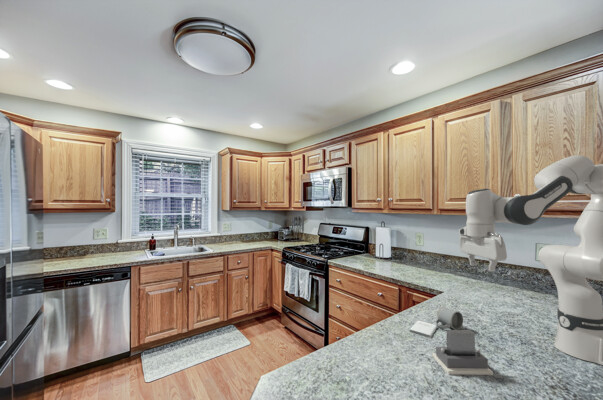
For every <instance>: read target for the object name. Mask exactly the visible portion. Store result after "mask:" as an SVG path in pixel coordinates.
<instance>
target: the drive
mask: <svg viewBox="0 0 603 400" xmlns="http://www.w3.org/2000/svg"><path fill="white" fill-rule="evenodd" d="M445 330H446V347H447V356H475V349H476V343H475V342H476V338H475V337H476V335H475V332H473V331H472V330H471V329H458V330H455V329H445Z"/></svg>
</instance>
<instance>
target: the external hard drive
mask: <svg viewBox="0 0 603 400" xmlns="http://www.w3.org/2000/svg"><path fill="white" fill-rule="evenodd" d="M437 328H438V327H437V325H436V324H433V323H430V322H426V321H422V320H417V321H416V322H415V323H414V324H413V325H412V327H411V328H410V329H409V332H410V333H413V334H416V335H419V336H422V337H426V338H429V339H431V338H432V336H433V335H434V333H435V331H436V330H437Z"/></svg>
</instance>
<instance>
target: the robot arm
mask: <svg viewBox="0 0 603 400" xmlns="http://www.w3.org/2000/svg"><path fill="white" fill-rule="evenodd" d="M533 182H534V186H535V188H536V189H537V190H536V191H534V192H533V193H532V194H527V195H517V196H507V197H505V196H501V195H499V194H497V193H495V192H493V191H492V190H491V188H482V189H474V190H471V191H469V192H468V193H467V195H466V198H465V214H466V218H467V219H466V221H465V222H466V223H465V224H466V225H465V226H464V227H461V228H460V229H458V234H459V249H460V251H461V253H463V254H467V258H468V260H469V266H471V267H477V266H478V262H477V261H476V259H475V257H481V258H485V259H487V260H488V262H489V264H488V265H487V266H486V268H487V269H486V270H487V272H491V273H494V272H496V266H497V264H498V262H501V261H502V262H504V261H506V260H507V257H508V255H507V248H506V244H505V241H504V238H503V236H501V234H500V233H498V232H497V233H496V225H495V223H501V224H502V223H503V224H516V225H522V226H529V225H533V224H535V223H536V222H538V221H540V219H541V218H542V216H543V215H544V214H545V212H546V211H547V210H549V208H551V207H552V206H553V205H555V204H556V203H557V202H558V201H560V200H561V199H562V198H564V197H566V196H568V194H569V193H570V194H574V195H590V201H589V202H588V203H587V205H586V206H585V208H584V209H583V211H582V213H581V214H580V215H579V217H578V219H577V221H576V223H575V224H574V226H573V231H574V234H575V235H576V236H577V237H578V238H580V242H579V244H578V245H577V246H575V245H567V244H549V245H544V246H543V247H541V248H540V250H539V252H538V260H539V262H540V263H541V265H542V266H543V267H545V268H546V269H547V271H548V272H549V273H550V275H551V277H552V279H553V281H554V283H555V286H556V290H557V299H558V308H557V311H556V316H557V319H558V321H557V326H556V336H555V337H554V347H555V348H556V349H557V350H559V351H560V352H562V353H564V354H567V355H568V356H571V357H574V358H576V359H580V360H583V361H586V362H591V363H595V364H599V365H601V366H603V299H602V296H601V294H600V292H598V291H597V290H596V289H595V288H593V287H592V286H591V284H590V283H589V282H588V280H587V279H589V280H593V281H601V282H603V163H600V164H595V163H594V161H593V160H592V159H591V158H589V157H587V156H584V155H580V154H574V155H571V156H570V155H569V156H567V157H565V158H562V159H559V160H558V161H555V162H553V163H551V164H549V165H547V166H546V167H544V168H542V169H541V170H540V171H538V172H537V174H535V175H534V179H533Z"/></svg>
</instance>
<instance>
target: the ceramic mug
mask: <svg viewBox="0 0 603 400" xmlns="http://www.w3.org/2000/svg"><path fill="white" fill-rule="evenodd" d="M436 316H437V317H436V318H437V319H436V320H435V325H437V328H439V329H441V330H448V329H449V328H451V329H452V330H461V328H462V327H463V325H464V317H463V314H462V313H461V312H460V311H458V310H456V309H455V310H454V309H451V308H449V307H448V308H447V307H441V308H439V309H438V311H437V315H436ZM439 323H441V324H443V325H440V324H439Z"/></svg>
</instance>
